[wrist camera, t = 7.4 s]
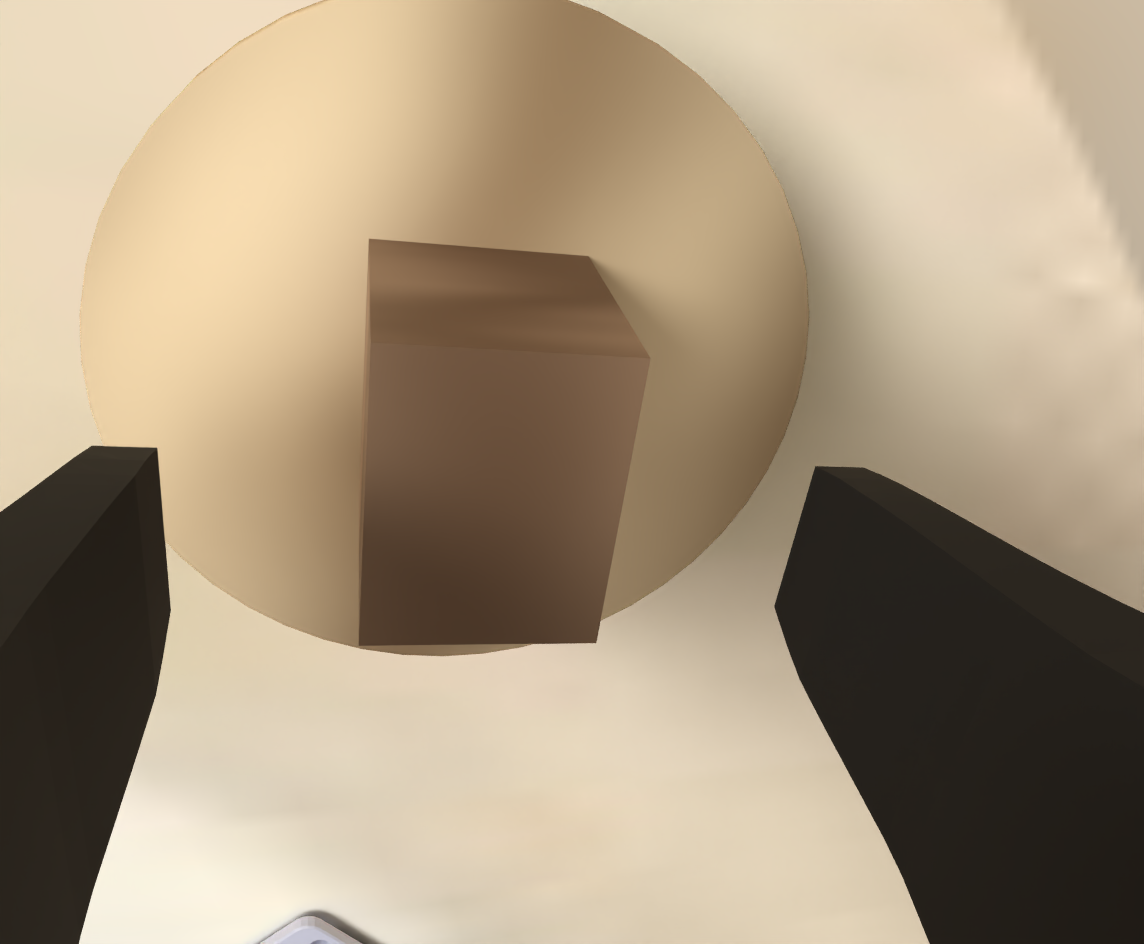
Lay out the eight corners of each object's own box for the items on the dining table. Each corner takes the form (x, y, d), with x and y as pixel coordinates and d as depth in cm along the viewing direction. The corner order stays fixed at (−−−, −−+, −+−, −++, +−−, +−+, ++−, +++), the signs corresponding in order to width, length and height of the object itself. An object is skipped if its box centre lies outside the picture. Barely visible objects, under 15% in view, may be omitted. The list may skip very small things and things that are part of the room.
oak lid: (869, 34, 14) (1052, 89, 10) (713, 624, 19) (798, 802, 15) (50, -81, 11) (-98, -64, 8) (126, 628, 16) (59, 840, 13)
